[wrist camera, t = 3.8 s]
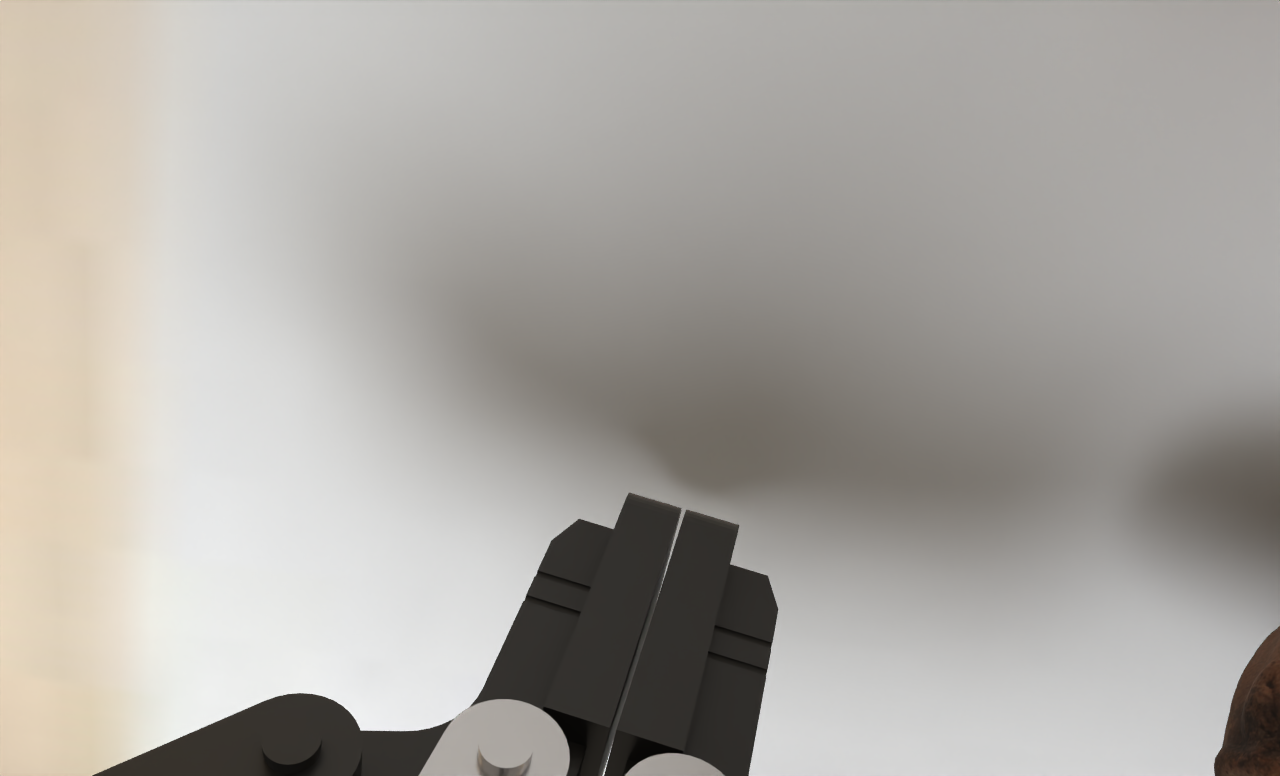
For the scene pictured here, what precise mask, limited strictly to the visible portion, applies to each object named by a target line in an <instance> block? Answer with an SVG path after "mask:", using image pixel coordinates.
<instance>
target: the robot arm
mask: <svg viewBox="0 0 1280 776" xmlns="http://www.w3.org/2000/svg"><path fill="white" fill-rule="evenodd" d="M681 509H682V508H679V507H676V506H672V505H669V504H666V503H662V502H659V501H656V500H652V499H649V498H645V497H642V496H639V495H635V494H632V493H629V494H628V496H627V498H626V500H625V503H624V505H623V508H622V510H621V513H620V515H619V518H618V520H617V523H616V525H615V528H614V529H611V528H607V527H604V526H601V525H597V524H594V523H591V522H587V521H584V520H581V519H578V520H577V521H576V522H575V523H573V524H572V525H571V526H570V527H568V528H567V529H566V530H564V531H563V532H562V533H561V534H559V535H558V536H557V537H556V538H554V539H553V540H552V541H551V543H550V545H549V547H548V550H547V552H546V554H545V556H544V558H543V560H542V562H541V565H540V567H539V569H538V572H537V575H536V576H535V577H534V580H533V582H532V584H531V586H530V588H529V590H528V593H527V595H526V598H525V601H523V603H522V605H521V608H520V610H519V612H518V614H517V616H516V618H515V620H514V623H513V625H512V627H511V629H510V631H509V633H508V635H507V638H506V640H505V642H504V644H503V646H502V648H501V651H500V653H499V655H498V657H497V659H496V661H495V663H494V666H493V668H492V670H491V672H490V674H489V676H488V678H487V681H486V683H485V685H484V687H483V689H482V691H481V693H480V694H479V696H478V698H477V699H476V700H475V701H474V702H473V704H472V705H471V706H470V707H469V708H467V709H466V710H464V711H463V712H462V713H460V714H459V715H458V716H457V717H456V718H454V719H453V720H451V721H448V722H446V723H444V724H442V725H439V726H436V727H433V728H430V729H424V730H419V731H360V728H359V726H358V724H357V722H356V720H355V719H354V717H353V716H352V715H351V714H350V712H349V711H348V710H346V709H345V708H344V707H343V706H342V705H340V704H338V703H337V702H335V701H333V700H331V699H328V698H326V697H323V696H318V695H314V694H303V693H298V694H287V695H283V696H278V697H275V698H272V699H269V700H266V701H264V702H261V703H259V704H257V705H254V706H252V707H250V708H248V709H245V710H243V711H241V712H238V713H236V714H234V715H231V716H229V717H227V718H224V719H222V720H220V721H217V722H215V723H213V724H211V725H208V726H206V727H204V728H201V729H199V730H197V731H194V732H192V733H190V734H187V735H185V736H183V737H180V738H178V739H176V740H174V741H171V742H169V743H167V744H164V745H162V746H160V747H157V748H155V749H153V750H150V751H148V752H146V753H144V754H141V755H139V756H137V757H134V758H132V759H130V760H127V761H125V762H123V763H120V764H118V765H116V766H113V767H111V768H109V769H107V770H104V771H102V772H100V773H97V774H95V775H93V776H602V775H603V772H604V769H605V765H606V762H607V759H608V756H609V753H610V756H609V760H608V763H607V767H606V771H605V775H604V776H748V775H749V769H750V763H751V758H752V752H753V747H754V741H755V736H756V730H757V725H758V719H759V713H760V708H761V702H762V697H763V691H764V686H765V680H766V673H767V669H768V664H769V658H770V653H771V645H772V642H773V636H774V631H775V625H776V619H777V614H778V607H777V604H776V601H775V598H774V594H773V591H772V588H771V585H770V582H769V579H768V576H766V575H763V574H760V573H757V572H753V571H750V570H747V569H743V568H740V567H737V566H733V565H730V561H731V557H732V553H733V549H734V545H735V541H736V537H737V533H738V528H739V525H737V524H733V523H730V522H727V521H723V520H720V519H717V518H713V517H710V516H707V515H703V514H700V513H697V512H693V511H690V510H686V512H685V515H684V518H683V521H682V524H681V527H680V530H679V534H678V537H677V540H676V543H675V546H674V549H673V552H672V556H671V559H670V562H669V565H668V568H667V571H666V575H665V578H664V581H663V577H664V573H665V570H666V566H667V562H668V559H669V555H670V551H671V547H672V544H673V540H674V536H675V532H676V529H677V525H678V521H679V518H680V514H681ZM662 581H663V584H662ZM661 585H662V587H661ZM660 588H661V590H660ZM659 592H660V593H659ZM658 596H659V597H658ZM657 599H658V600H657ZM612 743H613V744H612ZM611 747H612V748H611ZM610 750H611V752H610Z"/></svg>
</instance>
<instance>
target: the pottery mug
mask: <svg viewBox="0 0 1280 776" xmlns="http://www.w3.org/2000/svg"><path fill="white" fill-rule="evenodd" d="M1214 771H1215V776H1280V626H1279V627H1278V628H1277V629H1276V630H1275V631H1273V632H1272V633H1271V634H1270V635H1269V636H1268V637H1267V638H1266V639H1265V640H1264V642H1263V643H1262V644H1261V645H1260V647H1259V648H1258V649H1257V651H1256V652H1255V654H1254V656H1253V657H1252V659H1251V660H1250V662H1249V663H1248V665H1247V666H1246V668H1245V670H1244V671H1243V673H1242V675H1241V678H1240V680H1239V682H1238V685H1237V688H1236V690H1235V693H1234V696H1233V699H1232V703H1231V708H1230V713H1229V717H1228V722H1227V725H1226V730H1225V735H1224V741H1223V746H1222V749H1221V750H1220V751H1219V753H1218V755H1217V756H1216V758H1215V763H1214Z"/></svg>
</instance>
